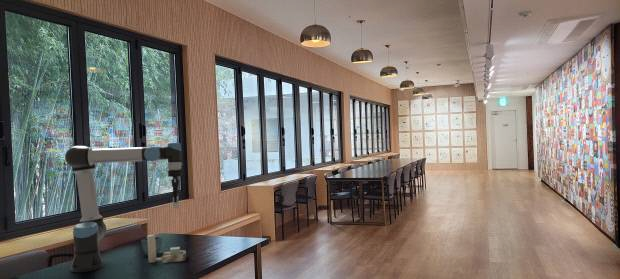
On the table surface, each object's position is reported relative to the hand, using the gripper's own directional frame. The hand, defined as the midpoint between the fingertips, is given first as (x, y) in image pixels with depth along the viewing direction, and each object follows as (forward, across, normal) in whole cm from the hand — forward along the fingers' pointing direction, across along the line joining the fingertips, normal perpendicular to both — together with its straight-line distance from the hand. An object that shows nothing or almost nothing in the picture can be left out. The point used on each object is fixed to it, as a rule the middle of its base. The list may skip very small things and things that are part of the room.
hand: (175, 206), depth 260 cm
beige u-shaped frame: (+27, -12, +1) cm, 30 cm away
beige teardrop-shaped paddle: (+27, -12, +6) cm, 30 cm away
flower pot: (+28, +7, +14) cm, 32 cm away
